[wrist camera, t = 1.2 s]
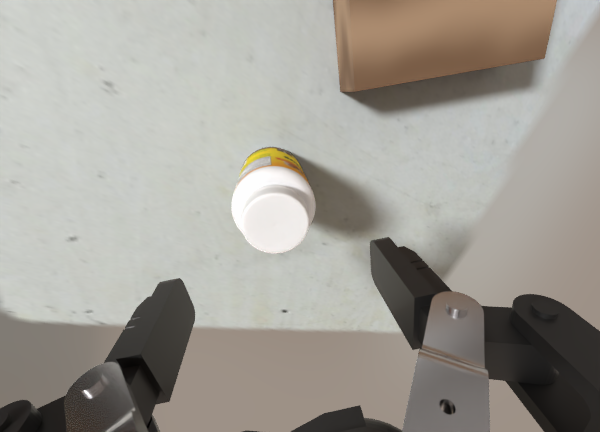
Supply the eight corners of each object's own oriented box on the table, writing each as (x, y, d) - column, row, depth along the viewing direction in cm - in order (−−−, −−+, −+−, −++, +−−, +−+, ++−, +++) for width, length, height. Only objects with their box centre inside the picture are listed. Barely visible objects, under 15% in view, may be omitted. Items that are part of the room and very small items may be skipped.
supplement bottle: (310, 189, 26) (336, 243, 16) (258, 212, 26) (254, 279, 17) (286, 134, 23) (300, 162, 14) (229, 160, 24) (206, 205, 14)
